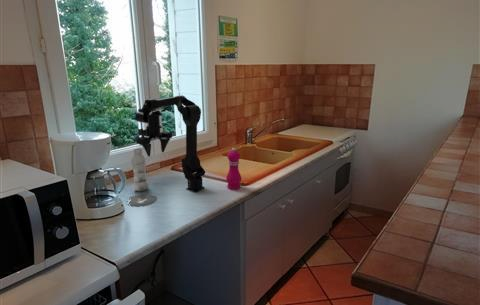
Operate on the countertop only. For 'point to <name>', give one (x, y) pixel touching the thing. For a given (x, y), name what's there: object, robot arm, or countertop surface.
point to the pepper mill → (233, 170)
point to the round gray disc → (142, 200)
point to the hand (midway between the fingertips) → (156, 154)
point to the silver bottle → (139, 170)
